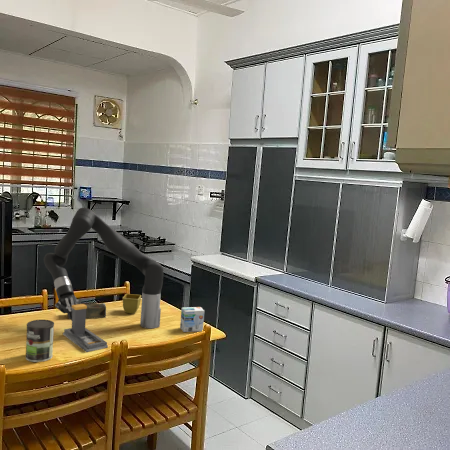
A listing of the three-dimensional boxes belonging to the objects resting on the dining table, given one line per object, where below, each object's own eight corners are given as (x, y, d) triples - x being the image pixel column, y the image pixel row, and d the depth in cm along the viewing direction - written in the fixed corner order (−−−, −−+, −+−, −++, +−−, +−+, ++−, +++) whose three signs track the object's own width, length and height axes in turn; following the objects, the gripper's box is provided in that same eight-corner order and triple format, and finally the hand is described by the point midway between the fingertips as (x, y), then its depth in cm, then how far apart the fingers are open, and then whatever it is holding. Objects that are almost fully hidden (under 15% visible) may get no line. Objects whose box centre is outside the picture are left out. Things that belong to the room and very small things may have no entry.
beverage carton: (106, 318, 240) (106, 306, 239) (67, 319, 233) (67, 307, 232) (104, 313, 247) (105, 301, 246) (67, 315, 240) (67, 302, 240)
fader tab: (70, 333, 211) (71, 305, 209) (81, 331, 214) (83, 303, 213) (74, 335, 208) (75, 307, 206) (85, 333, 212) (86, 305, 210)
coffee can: (40, 364, 179) (41, 329, 178) (19, 358, 183) (20, 324, 181) (58, 355, 189) (59, 322, 187) (38, 350, 192) (39, 317, 191)
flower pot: (137, 315, 248) (138, 299, 247) (121, 314, 248) (122, 297, 247) (140, 310, 257) (141, 294, 256) (125, 309, 257) (126, 293, 256)
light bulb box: (183, 332, 227) (184, 311, 226) (179, 327, 234) (180, 307, 232) (203, 331, 231) (205, 310, 230) (199, 326, 238) (200, 306, 236)
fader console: (63, 334, 212) (63, 329, 211) (83, 330, 218) (83, 325, 218) (86, 352, 194) (86, 346, 194) (107, 347, 201) (108, 342, 200)
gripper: (74, 290, 229) (84, 321, 221) (47, 293, 220) (56, 325, 212) (79, 282, 224) (89, 313, 217) (52, 285, 215) (62, 317, 208)
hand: (73, 319), depth 214 cm, fingers closed
